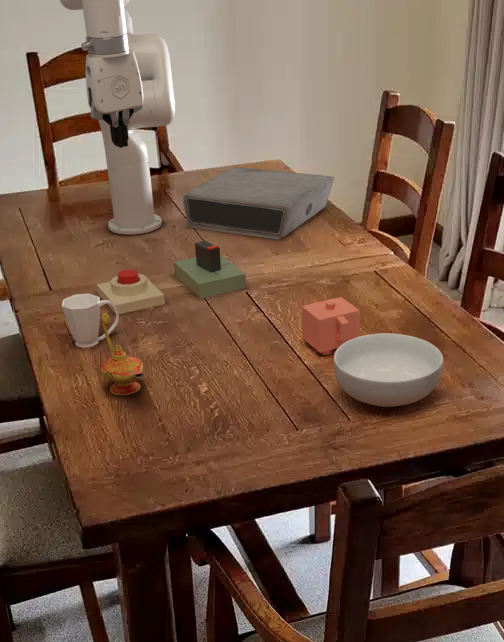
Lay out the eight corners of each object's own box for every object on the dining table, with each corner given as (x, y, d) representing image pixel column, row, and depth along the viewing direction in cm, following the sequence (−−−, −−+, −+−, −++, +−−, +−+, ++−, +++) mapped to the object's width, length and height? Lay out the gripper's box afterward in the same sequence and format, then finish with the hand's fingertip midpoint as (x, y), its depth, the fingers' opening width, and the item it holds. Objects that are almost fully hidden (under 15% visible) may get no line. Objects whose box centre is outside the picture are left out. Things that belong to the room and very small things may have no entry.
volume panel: (174, 275, 198) (173, 260, 196) (219, 266, 201) (217, 251, 199) (200, 298, 187) (198, 283, 185) (246, 288, 190) (245, 273, 189)
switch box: (97, 293, 192) (95, 274, 189) (144, 283, 195) (142, 265, 192) (116, 315, 182) (113, 295, 180) (165, 304, 186) (163, 284, 183)
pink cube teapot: (332, 327, 173) (332, 284, 169) (365, 352, 164) (366, 308, 160) (294, 336, 171) (293, 293, 166) (325, 362, 162) (324, 317, 157)
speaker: (176, 227, 223) (290, 242, 211) (173, 193, 219) (289, 206, 206) (226, 197, 240) (335, 209, 228) (224, 165, 236) (334, 175, 223)
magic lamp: (126, 421, 149) (117, 357, 142) (92, 375, 162) (82, 315, 156) (167, 410, 151) (160, 347, 145) (130, 365, 164) (122, 306, 158)
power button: (115, 280, 187) (114, 271, 186) (135, 276, 189) (134, 267, 188) (122, 287, 184) (121, 278, 183) (141, 283, 186) (140, 274, 185)
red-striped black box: (196, 265, 194) (194, 242, 191) (206, 262, 195) (204, 239, 192) (211, 272, 190) (209, 249, 187) (221, 269, 191) (219, 246, 188)
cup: (63, 339, 174) (55, 298, 170) (114, 327, 178) (108, 286, 173) (74, 354, 169) (67, 312, 164) (127, 341, 173) (121, 299, 168)
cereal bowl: (365, 432, 143) (366, 390, 138) (315, 386, 155) (315, 346, 151) (461, 405, 148) (465, 364, 144) (405, 363, 160) (407, 324, 156)
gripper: (81, 55, 172) (95, 158, 183) (153, 41, 178) (162, 142, 189) (63, 48, 177) (78, 149, 188) (133, 35, 183) (144, 133, 194)
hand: (120, 145), depth 188 cm, fingers closed
